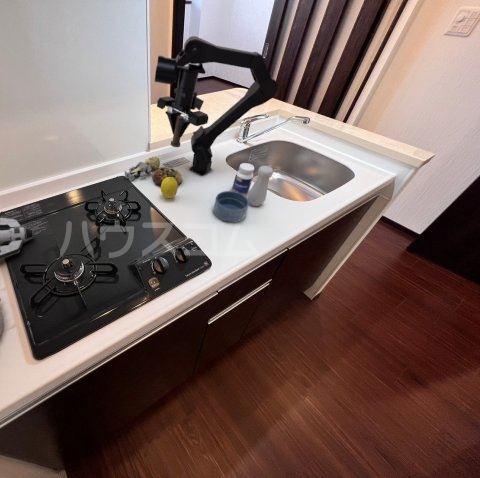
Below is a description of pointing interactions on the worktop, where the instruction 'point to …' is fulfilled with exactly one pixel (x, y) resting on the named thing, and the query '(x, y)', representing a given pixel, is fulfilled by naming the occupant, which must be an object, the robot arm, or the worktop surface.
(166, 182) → the lemon
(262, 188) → the salt shaker
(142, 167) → the toy
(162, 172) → the bread roll
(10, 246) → the toy spacecraft
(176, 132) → the muddler
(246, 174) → the pill bottle
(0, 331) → the dish
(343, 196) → the worktop surface
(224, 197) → the bowl
